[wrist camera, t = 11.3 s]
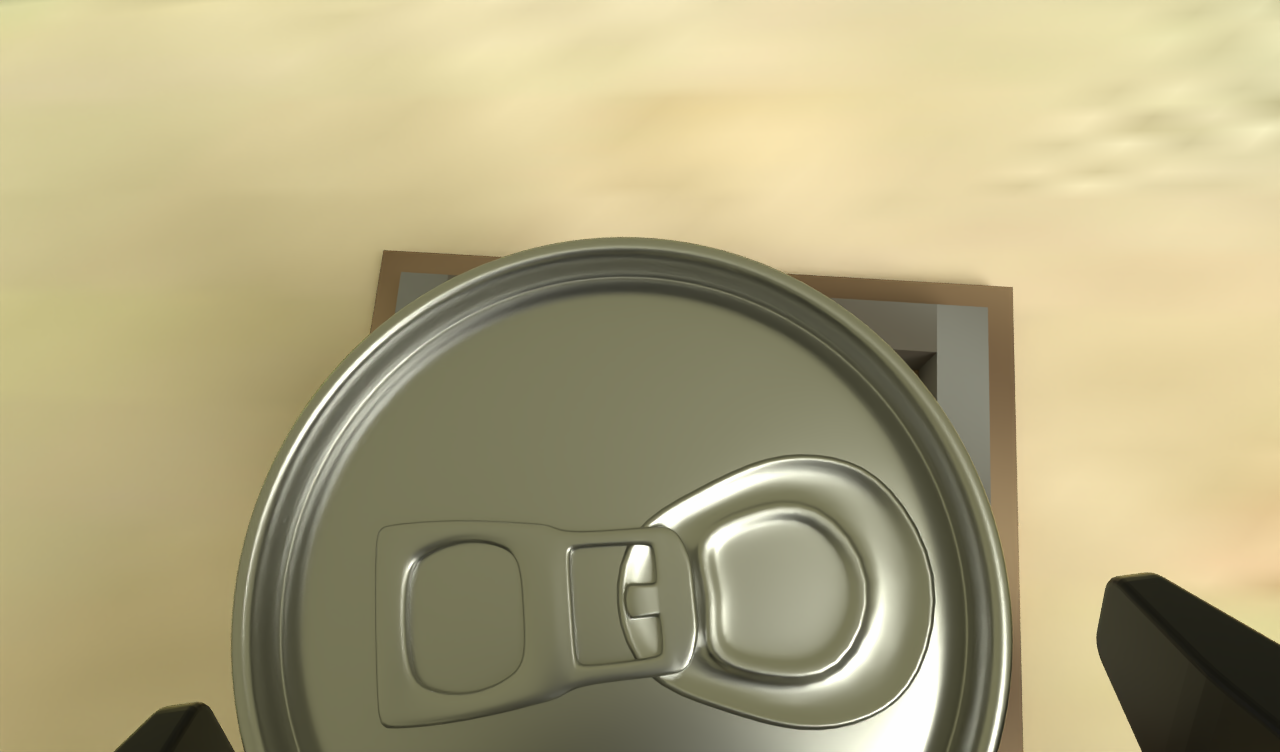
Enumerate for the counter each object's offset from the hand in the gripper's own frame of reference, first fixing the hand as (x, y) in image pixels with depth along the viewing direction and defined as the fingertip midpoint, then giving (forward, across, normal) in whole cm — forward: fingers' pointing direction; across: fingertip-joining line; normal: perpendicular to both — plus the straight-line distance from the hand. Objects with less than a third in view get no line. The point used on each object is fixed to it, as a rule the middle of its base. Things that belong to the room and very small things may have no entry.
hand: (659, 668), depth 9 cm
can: (+7, 0, +6) cm, 10 cm away
